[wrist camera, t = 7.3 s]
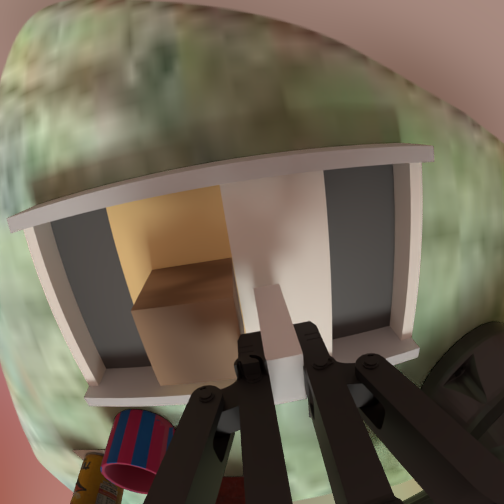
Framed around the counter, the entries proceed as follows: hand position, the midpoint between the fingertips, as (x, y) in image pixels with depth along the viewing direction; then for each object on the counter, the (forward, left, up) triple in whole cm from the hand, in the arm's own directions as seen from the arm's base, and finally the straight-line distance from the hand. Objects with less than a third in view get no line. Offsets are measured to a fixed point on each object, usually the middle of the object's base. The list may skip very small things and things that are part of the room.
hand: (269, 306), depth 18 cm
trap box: (+2, 0, -4) cm, 5 cm away
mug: (+13, +16, -4) cm, 21 cm away
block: (+4, 0, -2) cm, 5 cm away
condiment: (+23, +24, -5) cm, 33 cm away
